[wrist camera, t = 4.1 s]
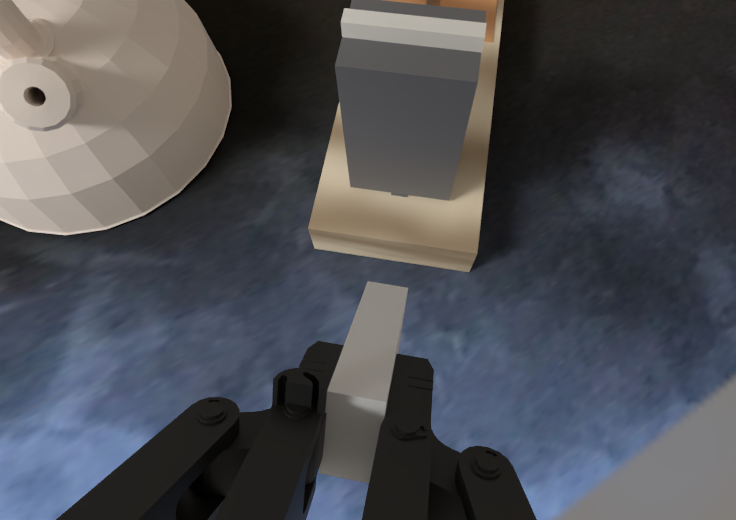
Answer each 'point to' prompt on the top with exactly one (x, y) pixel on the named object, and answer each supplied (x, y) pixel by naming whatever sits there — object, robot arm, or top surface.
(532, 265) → the top surface
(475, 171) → the fader console
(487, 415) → the top surface
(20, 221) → the kettle
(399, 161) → the fader knob
